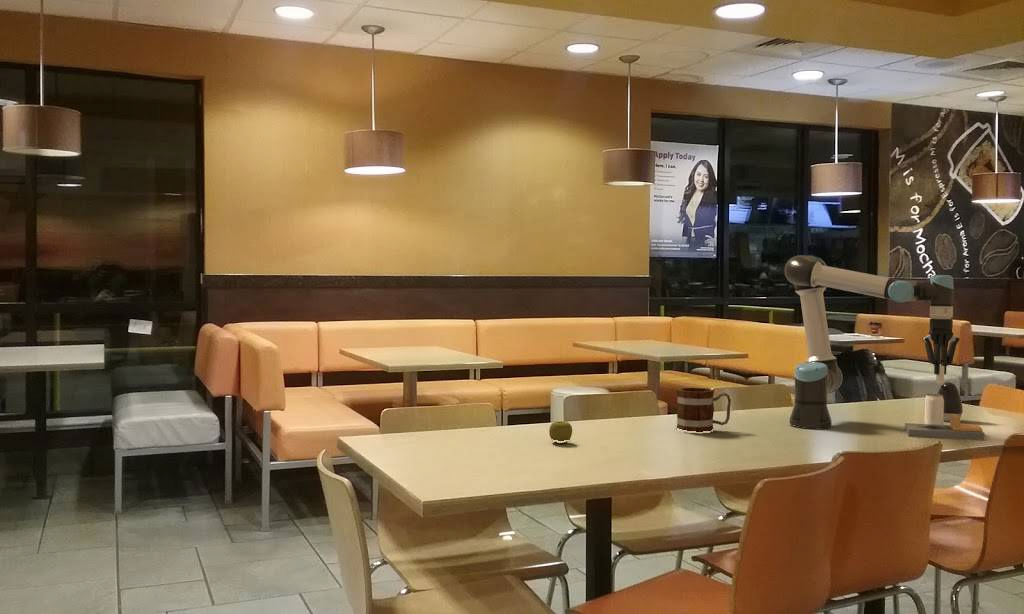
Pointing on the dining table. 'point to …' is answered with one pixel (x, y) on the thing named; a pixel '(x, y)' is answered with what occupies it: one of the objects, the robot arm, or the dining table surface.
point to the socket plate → (940, 432)
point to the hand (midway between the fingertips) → (940, 383)
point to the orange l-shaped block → (962, 427)
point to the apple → (560, 431)
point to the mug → (698, 409)
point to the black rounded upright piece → (951, 400)
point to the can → (934, 409)
